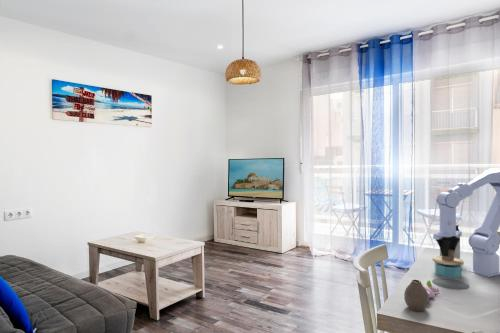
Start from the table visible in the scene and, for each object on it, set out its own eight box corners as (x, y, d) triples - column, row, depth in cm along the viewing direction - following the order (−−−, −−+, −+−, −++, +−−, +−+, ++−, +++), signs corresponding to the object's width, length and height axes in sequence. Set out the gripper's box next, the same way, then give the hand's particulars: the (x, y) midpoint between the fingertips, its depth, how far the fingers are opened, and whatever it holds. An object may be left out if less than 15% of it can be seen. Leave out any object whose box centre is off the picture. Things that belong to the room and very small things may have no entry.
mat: (445, 278, 135) (445, 276, 135) (476, 287, 125) (476, 286, 125) (424, 282, 130) (424, 281, 130) (455, 293, 119) (455, 291, 119)
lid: (444, 256, 146) (444, 245, 146) (470, 263, 136) (469, 251, 136) (426, 260, 141) (426, 248, 142) (451, 266, 131) (451, 254, 132)
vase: (431, 314, 103) (431, 285, 103) (407, 312, 104) (407, 284, 104) (424, 305, 110) (424, 277, 110) (401, 303, 111) (401, 276, 111)
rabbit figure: (424, 293, 123) (409, 298, 113) (425, 276, 124) (410, 280, 113) (443, 298, 119) (429, 304, 108) (444, 280, 119) (430, 284, 109)
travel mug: (446, 259, 161) (446, 221, 161) (463, 263, 155) (463, 223, 154) (436, 261, 157) (436, 222, 157) (453, 266, 151) (453, 225, 150)
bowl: (444, 270, 145) (444, 259, 145) (465, 276, 137) (465, 265, 137) (430, 273, 141) (430, 262, 141) (450, 280, 133) (450, 268, 133)
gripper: (444, 224, 132) (445, 260, 132) (469, 222, 138) (469, 255, 138) (428, 222, 138) (428, 255, 139) (452, 219, 145) (452, 251, 145)
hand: (447, 255), depth 139 cm, fingers closed on lid, 3 cm apart
